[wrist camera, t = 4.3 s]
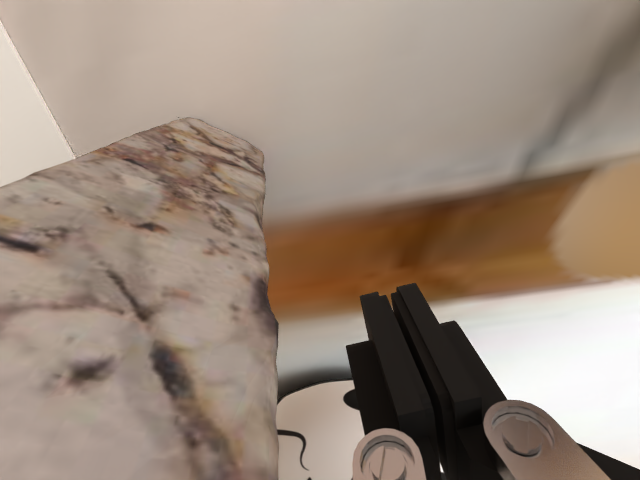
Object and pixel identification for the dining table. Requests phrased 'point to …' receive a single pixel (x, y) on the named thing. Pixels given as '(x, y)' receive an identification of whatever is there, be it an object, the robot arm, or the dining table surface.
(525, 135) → the dining table surface
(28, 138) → the mat
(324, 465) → the milk container
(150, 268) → the stone block
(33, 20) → the dining table surface
